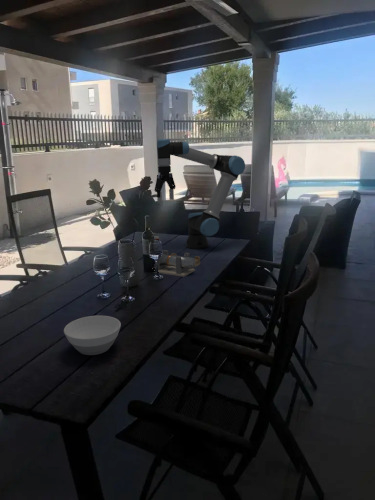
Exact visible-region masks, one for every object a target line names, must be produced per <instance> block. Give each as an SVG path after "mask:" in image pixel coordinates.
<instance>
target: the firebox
mask: <svg viewBox="0 0 375 500" xmlns="http://www.w3.org/2000/svg"><path fill="white" fill-rule="evenodd" d="M162 254H167V255H169V250H167V249H163V250H162ZM183 257H190V252H184V253H183ZM190 258H191V257H190ZM153 264H154V263H153ZM157 265H158V272H159V273H158V274H162V275H163V274H165V275H171V276H178V277H183V278H184V277H186V276H188V275H190V274H191V273H192V274H193V272H195V271H196V269H195V268H193V269H188V268H181V257H176V267H174V266H167V265H160V259H158V260H157ZM154 268H155V269H156V267H155V264H154ZM154 271H155V270H154Z"/></svg>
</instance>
